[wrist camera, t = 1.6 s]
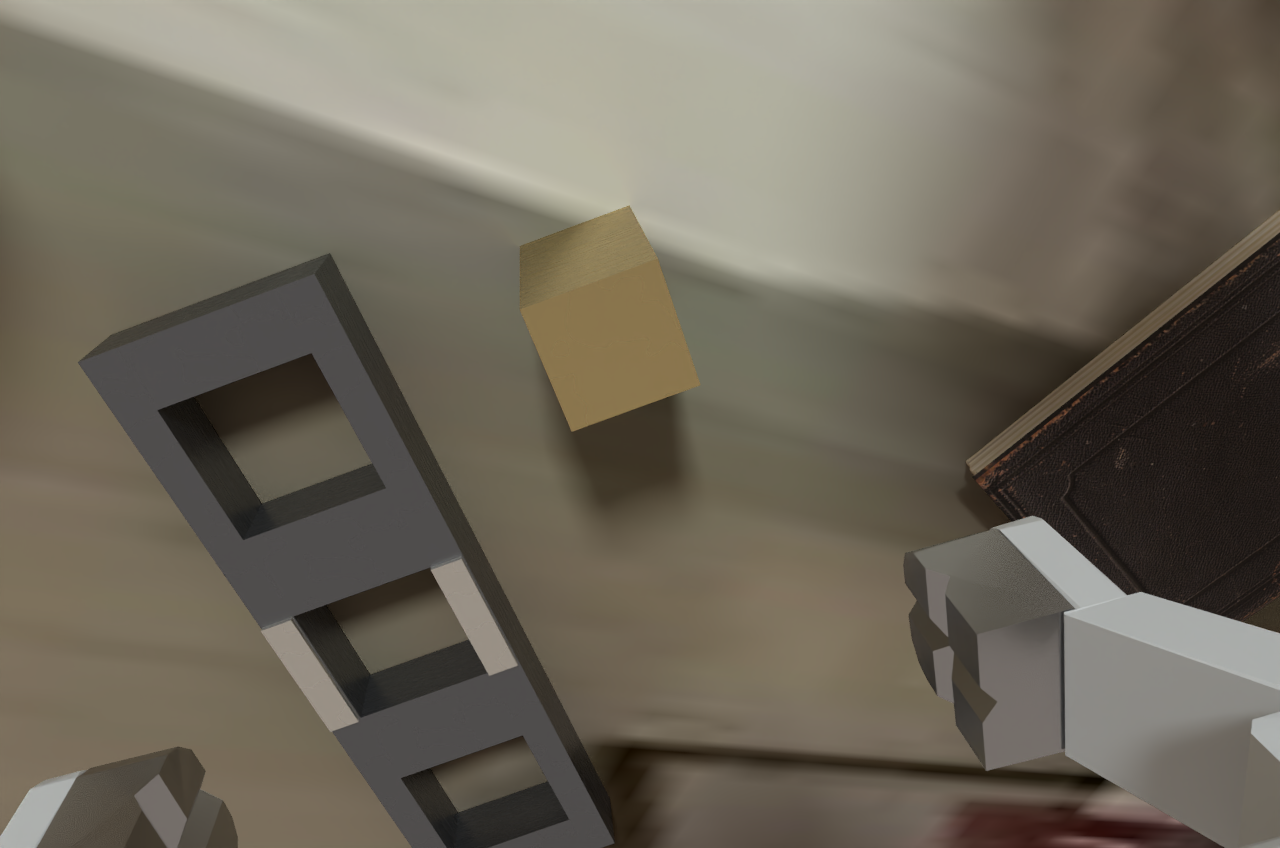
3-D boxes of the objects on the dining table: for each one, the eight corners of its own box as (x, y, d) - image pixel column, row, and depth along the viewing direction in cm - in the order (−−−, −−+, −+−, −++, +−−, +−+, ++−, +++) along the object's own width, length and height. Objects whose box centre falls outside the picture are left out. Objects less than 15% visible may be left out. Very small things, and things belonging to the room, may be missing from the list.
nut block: (629, 205, 30) (657, 258, 24) (665, 310, 32) (700, 385, 26) (519, 245, 31) (519, 309, 24) (561, 348, 32) (571, 431, 26)
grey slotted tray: (329, 253, 30) (313, 275, 27) (609, 798, 42) (615, 846, 40) (110, 335, 30) (74, 364, 28) (452, 852, 43) (448, 904, 40)
